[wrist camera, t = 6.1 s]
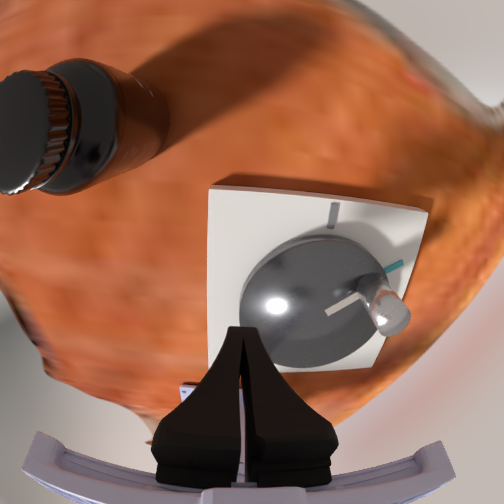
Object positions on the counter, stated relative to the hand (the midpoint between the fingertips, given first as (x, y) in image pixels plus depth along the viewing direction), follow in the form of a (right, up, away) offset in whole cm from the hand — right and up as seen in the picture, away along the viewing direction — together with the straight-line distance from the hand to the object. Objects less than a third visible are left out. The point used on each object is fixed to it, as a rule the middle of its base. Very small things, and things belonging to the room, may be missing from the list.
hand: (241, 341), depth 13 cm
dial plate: (+5, +1, +10) cm, 12 cm away
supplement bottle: (-8, +14, +4) cm, 17 cm away
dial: (+6, 0, +9) cm, 10 cm away
